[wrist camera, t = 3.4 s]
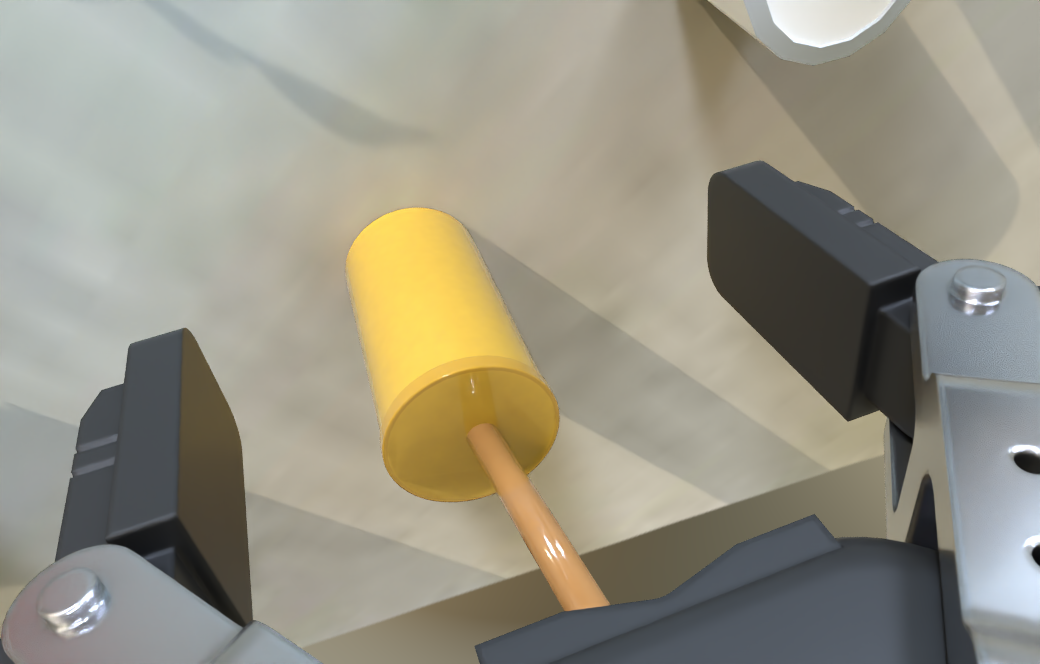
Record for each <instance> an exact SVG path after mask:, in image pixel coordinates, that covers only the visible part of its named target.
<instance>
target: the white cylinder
mask: <svg viewBox="0 0 1040 664" xmlns="http://www.w3.org/2000/svg"><path fill="white" fill-rule="evenodd" d="M707 1H709V2H710V3H711V4H712V5H714V6H715V7H716V8H717V9H719V10H720V11H721V12H722V13H724V14H725V15H726V16H727V17H729V18H730V19H731V20H732V21H734V22H735V23H736V24H737V25H739V26H740V27H741V28H742V29H744V30H745V31H746V32H747V33H749V34H750V35H751V36H752V37H754V38H755V39H756V40H757V41H759V42H760V43H761V44H762V45H764V46H765V47H766V48H767V49H769V50H770V51H771V52H772V53H774V54H775V55H776V56H777V57H779V58H780V59H782V60H787V61H792V62H797V63H802V64H807V65H812V66H814V65H818V64H822V63H826V62H829V61H833V60H837V59H841V58H845V57H848V56H850V55H852V54H853V53H855V52H856V51H858V50H859V49H861V48H862V47H863V46H865V45H866V44H868V43H869V42H871V41H872V40H874V39H875V38H877V37H878V36H880V35H881V34H882V33H884V32H885V31H886V30H887V28H888V27H889V26H890V25H891V24H892V22H893V21H894V20H895V19H896V18H897V16H898V15H899V14H900V13H901V12H902V10H903V9H904V8H905V7H906V6H907V5H908V3H909V2H910V1H911V0H707Z"/></svg>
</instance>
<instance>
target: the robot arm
mask: <svg viewBox="0 0 1040 664" xmlns="http://www.w3.org/2000/svg"><path fill="white" fill-rule="evenodd" d="M707 262H708V268H709V272H710V276H711V279H712V281H713V283H714V286H715V287H716V289H717V291H718V292H719V294H720V295H721V296H722V297H723V298H724V299H725V300H726V301H727V302H728V303H729V304H730V305H731V306H732V307H733V308H734V309H735V310H736V311H737V312H738V313H739V314H740V315H741V316H742V317H743V318H744V319H745V320H746V321H747V322H748V323H749V324H750V325H751V326H752V327H753V328H754V329H755V330H756V331H757V332H758V333H759V334H760V335H761V336H762V337H763V338H764V339H765V340H766V341H767V342H768V343H769V344H770V345H771V346H772V347H773V348H774V349H775V350H776V351H777V352H778V353H779V354H780V355H781V356H782V357H783V358H784V359H785V360H786V361H787V362H788V363H789V364H790V365H791V366H792V367H793V368H794V369H795V370H796V371H797V372H798V373H799V374H800V375H801V376H802V377H803V378H804V379H805V380H806V381H808V382H809V383H810V384H811V385H812V386H813V387H814V388H815V389H816V390H817V391H818V392H819V393H820V394H821V395H822V396H823V397H824V398H825V399H826V400H827V401H828V402H829V403H830V404H831V405H832V406H833V407H834V408H835V409H836V410H837V411H838V412H839V413H840V414H841V415H842V416H843V417H844V418H845V419H846V420H847V421H851V420H854V419H857V418H859V417H862V416H865V415H867V414H870V413H873V412H876V411H878V410H880V411H881V412H882V413H883V414H884V415H885V416H887V421H886V425H885V430H884V462H885V496H886V497H885V499H886V539H882V538H868V537H841V538H834V537H833V536H832V534H831V533H830V532H829V531H828V530H827V528H825V526H824V525H823V524H822V522H821V521H820V520H819V519H818V518H817V517H816V515H815V514H814V515H811V516H808V517H806V518H803V519H801V520H798V521H795V522H793V523H790V524H788V525H785V526H783V527H780V528H777V529H775V530H772V531H770V532H767V533H764V534H762V535H759V536H757V537H754V538H752V539H749V540H747V541H744V542H741V543H739V544H736V545H735V546H733V547H732V548H731V549H730V550H728V551H727V552H725V553H724V554H722V555H721V556H720V557H718V558H717V559H716V560H714V561H713V562H712V563H710V564H709V565H707V566H706V567H705V568H703V569H702V570H701V571H699V572H698V573H697V574H695V575H694V576H692V577H691V578H690V579H688V580H687V581H686V582H684V583H683V584H682V585H680V586H679V587H677V588H676V589H675V590H673V591H672V592H671V593H669V594H667V595H666V596H663V597H661V598H657V599H652V600H646V601H638V602H630V603H623V604H615V605H608V606H601V607H593V608H586V609H579V610H571V611H564V612H561V613H558V614H556V615H554V616H551V617H548V618H546V619H543V620H540V621H538V622H535V623H533V624H530V625H527V626H525V627H522V628H520V629H517V630H515V631H512V632H509V633H507V634H504V635H502V636H499V637H497V638H494V639H491V640H489V641H486V642H484V643H481V644H479V645H476V646H475V649H476V652H477V656H478V659H479V662H480V664H1040V286H1036V285H1035V283H1034V282H1033V281H1031V280H1030V279H1029V278H1028V277H1026V276H1025V275H1023V274H1022V273H1020V272H1018V271H1016V270H1014V269H1012V268H1009V267H1007V266H1004V265H1001V264H997V263H994V262H989V261H983V260H974V259H955V260H947V261H942V262H937V261H936V260H934V259H933V258H931V257H930V256H928V255H927V254H925V253H924V252H922V251H921V250H919V249H918V248H916V247H915V246H913V245H911V244H910V243H908V242H907V241H905V240H904V239H902V238H901V237H899V236H898V235H896V234H895V233H893V232H892V231H890V230H889V229H887V228H886V227H884V226H883V225H881V224H880V223H875V224H874V222H873V219H872V218H870V217H869V216H867V215H866V214H864V213H863V212H861V211H860V210H856V211H855V210H854V206H852V205H851V204H849V203H848V202H846V201H845V200H843V199H841V198H840V197H838V196H837V195H835V194H834V193H832V192H831V191H828V190H825V189H822V188H818V187H815V186H812V185H809V184H806V183H802V182H799V181H797V182H794V181H792V180H791V179H789V178H788V177H786V176H785V175H783V174H782V173H780V172H779V171H778V170H776V169H775V168H773V167H772V166H770V165H769V164H767V163H766V162H764V161H755V162H752V163H748V164H745V165H741V166H738V167H735V168H731V169H728V170H724V171H721V172H718V173H715V174H714V175H713V176H712V177H711V179H710V182H709V186H708V237H707ZM76 450H77V454H74V460H73V465H72V471H71V473H72V475H73V478H70V482H69V487H68V493H67V498H66V503H65V509H64V514H63V520H62V525H61V531H60V536H59V542H58V547H57V553H56V558H55V563H53V564H51V565H50V566H49V567H47V568H46V569H44V570H43V571H42V572H40V573H39V574H38V575H37V576H36V577H35V578H34V579H32V580H31V581H30V582H29V583H28V584H27V585H26V587H25V588H24V589H23V590H22V591H21V592H20V593H19V595H18V596H17V597H16V599H15V600H14V602H13V603H12V605H11V607H10V608H9V610H8V612H7V614H6V617H5V620H4V622H3V626H2V632H1V639H0V664H323V663H322V662H320V661H319V660H317V659H316V658H314V657H312V656H311V655H310V654H309V653H307V652H306V651H304V650H303V649H301V648H300V647H298V646H297V645H295V644H294V643H292V642H291V641H289V640H288V639H287V638H285V637H284V636H282V635H281V634H279V633H278V632H276V631H275V630H273V629H272V628H270V627H269V626H267V625H265V624H263V623H261V622H259V621H256V620H253V615H252V599H251V584H250V568H249V552H248V537H247V521H246V505H245V489H244V474H243V458H242V446H241V441H240V436H239V432H238V429H237V425H236V422H235V419H234V417H233V414H232V412H231V409H230V407H229V405H228V403H227V401H226V399H225V397H224V395H223V393H222V391H221V389H220V387H219V385H218V383H217V381H216V379H215V377H214V375H213V373H212V371H211V369H210V367H209V365H208V363H207V361H206V359H205V357H204V355H203V353H202V351H201V349H200V347H199V345H198V343H197V341H196V340H195V338H194V336H193V335H192V333H191V332H190V331H189V330H188V329H187V328H182V329H179V330H176V331H172V332H169V333H165V334H162V335H159V336H155V337H152V338H148V339H145V340H142V341H138V342H135V343H132V344H130V346H129V348H128V355H127V363H126V371H125V379H124V384H121V385H117V386H114V387H111V388H107V389H104V390H101V392H100V393H99V395H98V396H97V397H96V399H95V400H94V402H93V403H92V405H91V406H90V407H89V409H88V410H87V412H86V413H85V415H84V416H83V418H82V419H81V422H80V427H79V433H78V438H77V444H76Z"/></svg>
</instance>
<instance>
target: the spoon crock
mask: <svg viewBox="0 0 1040 664" xmlns="http://www.w3.org/2000/svg"><path fill="white" fill-rule="evenodd" d="M345 274H346V281H347V286H348V290H349V295H350V299H351V304H352V308H353V313H354V317H355V322H356V326H357V331H358V335H359V340H360V344H361V349H362V353H363V357H364V362H365V366H366V371H367V375H368V380H369V384H370V389H371V393H372V398H373V402H374V407H375V411H376V416H377V420H378V425H379V429H380V448H381V453H382V457H383V461H384V464H385V467H386V469H387V471H388V473H389V475H390V476H391V477H392V479H393V480H394V481H395V482H396V483H397V484H398V485H399V486H400V487H401V488H403V489H404V490H406V491H407V492H409V493H411V494H413V495H415V496H418V497H421V498H424V499H427V500H432V501H439V502H462V501H469V500H475V499H479V498H483V497H486V496H489V495H492V494H495V493H497V495H498V497H499V498H500V500H501V502H502V504H503V505H504V507H505V509H506V511H507V512H508V514H509V516H510V517H511V519H512V521H513V523H514V524H515V526H516V528H517V530H518V531H519V533H520V535H521V537H522V538H523V540H524V542H525V543H526V545H527V547H528V549H529V550H530V552H531V554H532V556H533V557H534V559H535V561H536V562H537V564H538V566H539V568H540V569H541V571H542V573H543V575H544V576H545V578H546V580H547V582H548V583H549V585H550V587H551V588H552V590H553V592H554V594H555V595H556V597H557V599H558V600H559V602H560V604H561V606H562V607H563V609H564V611H571V610H579V609H586V608H593V607H601V606H608V605H610V604H609V602H608V601H607V599H606V597H605V596H604V594H603V593H602V591H601V590H600V588H599V586H598V585H597V583H596V582H595V580H594V579H593V577H592V575H591V574H590V572H589V571H588V569H587V568H586V566H585V564H584V563H583V561H582V560H581V558H580V557H579V555H578V553H577V552H576V550H575V549H574V547H573V546H572V544H571V542H570V541H569V539H568V538H567V536H566V535H565V533H564V531H563V530H562V528H561V527H560V525H559V524H558V522H557V520H556V519H555V517H554V516H553V514H552V513H551V511H550V509H549V508H548V506H547V505H546V503H545V502H544V500H543V498H542V497H541V495H540V494H539V492H538V491H537V489H536V487H535V486H534V484H533V483H532V481H531V480H530V478H529V476H528V474H529V473H530V472H531V471H533V470H534V469H535V468H536V467H537V466H538V465H539V464H540V462H541V461H542V460H543V459H544V458H545V456H546V455H547V454H548V452H549V450H550V449H551V447H552V445H553V443H554V441H555V438H556V436H557V432H558V428H559V419H560V416H559V408H558V404H557V401H556V399H555V396H554V394H553V392H552V390H551V388H550V386H549V384H548V383H547V382H546V380H545V379H544V378H543V377H542V376H541V375H540V373H539V371H538V369H537V367H536V365H535V363H534V361H533V359H532V357H531V355H530V353H529V351H528V349H527V347H526V345H525V343H524V341H523V339H522V337H521V335H520V333H519V331H518V329H517V327H516V325H515V323H514V321H513V319H512V317H511V315H510V313H509V311H508V309H507V307H506V305H505V303H504V301H503V299H502V297H501V295H500V292H499V290H498V288H497V286H496V284H495V282H494V280H493V278H492V276H491V274H490V272H489V270H488V268H487V266H486V264H485V262H484V260H483V258H482V256H481V254H480V252H479V250H478V248H477V246H476V244H475V242H474V240H473V238H472V236H471V235H470V233H469V232H468V230H467V229H466V228H465V227H464V226H463V225H462V224H461V223H460V222H459V221H458V220H456V219H455V218H453V217H452V216H450V215H448V214H446V213H443V212H441V211H437V210H434V209H428V208H406V209H401V210H397V211H394V212H391V213H388V214H386V215H384V216H382V217H380V218H378V219H376V220H375V221H373V222H372V223H371V224H369V225H368V226H367V227H366V228H365V229H364V230H363V231H362V232H361V233H360V234H359V235H358V237H357V238H356V239H355V241H354V242H353V244H352V246H351V248H350V250H349V253H348V256H347V260H346V267H345Z"/></svg>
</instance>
